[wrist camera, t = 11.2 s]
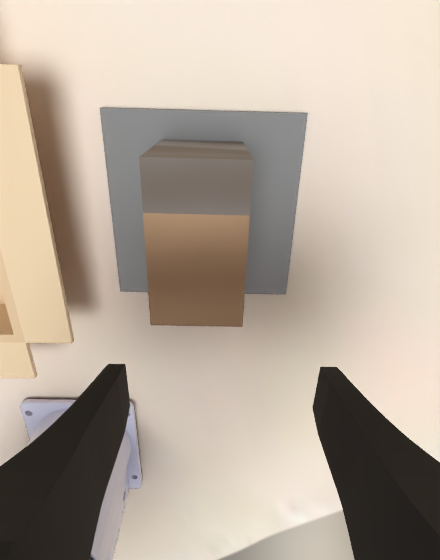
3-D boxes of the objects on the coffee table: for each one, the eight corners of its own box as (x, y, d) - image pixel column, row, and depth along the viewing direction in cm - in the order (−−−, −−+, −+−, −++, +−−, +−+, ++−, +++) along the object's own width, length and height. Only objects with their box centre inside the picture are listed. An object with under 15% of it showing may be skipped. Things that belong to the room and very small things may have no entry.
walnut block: (235, 268, 21) (242, 326, 16) (167, 267, 21) (150, 325, 16) (242, 141, 18) (253, 160, 13) (162, 139, 18) (139, 156, 13)
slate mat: (284, 291, 22) (285, 294, 22) (121, 288, 22) (120, 291, 22) (305, 113, 18) (307, 113, 17) (102, 107, 18) (99, 107, 17)
